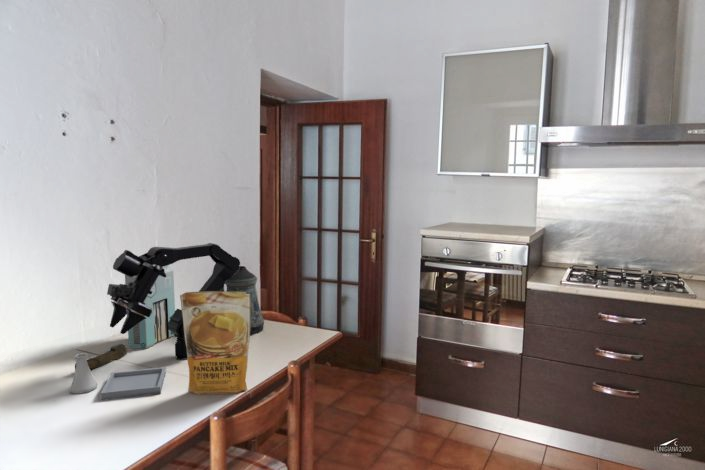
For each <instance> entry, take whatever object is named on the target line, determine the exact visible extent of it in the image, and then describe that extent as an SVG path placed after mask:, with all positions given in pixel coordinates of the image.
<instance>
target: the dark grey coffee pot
mask: <svg viewBox="0 0 705 470" xmlns="http://www.w3.org/2000/svg"><path fill="white" fill-rule="evenodd" d="M240 266H241V267H240V269H239V271H238V272H237V273H235V274H234V275H233V276H232V277H231V278H229V279H227V280H226V281H224V282H223V283H222V285H221V286H220V287H219V289H218V290H217V291H222V292H227V291H246V294H250V295H251V330H250V336H253V335H256V333H257V334H260V333H261V332H263V331H264V324H265V318H264V317H263V315H262V312H261V309H260V304H259V300H258V299H259V298H258V294H257V287H256V284H257V282H258V277H257V276H256V275H255V274H254V273H252V272H250V271H249V270H248V269H247V267H246V266H244V265H240ZM225 286H226V291H225ZM262 330H263V331H262ZM252 334H253V335H252Z"/></svg>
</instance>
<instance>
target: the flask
mask: <svg viewBox="0 0 705 470" xmlns="http://www.w3.org/2000/svg"><path fill="white" fill-rule="evenodd" d="M87 357H88V353H86V352H84V353H77V354H75V355H74V359H75V361H76V362H75V364H76V370H75V369H74V374H73V378H72V381H71V385H70V388H69V391H68V392H69V393H71V394H83V393H89V392H91V391H93V390H95V389H97V387H98V382H97V381H96V379H95V375H93V373H92V370H90V369H89V367H88V363H87V360H88V359H87Z"/></svg>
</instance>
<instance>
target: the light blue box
mask: <svg viewBox="0 0 705 470" xmlns="http://www.w3.org/2000/svg"><path fill="white" fill-rule="evenodd" d="M143 265H145V266H147V267H149V266H151V265H150V264H146V263H144V264H143ZM152 266H154V267H156V268H158V269H160V268H163V269H165V270H164V271H165V274H166V277H162V276H158V278H157V280H156V282H155V283H154V285H153V287H152V289H151V290H150V291H152V294H151V295H150V294H148V296H147V297H146V299H145V301H144V303H145V305H146V306H148V307H150V308H151V309H152V313H151V315H150V317H147V316H144V317H146V319H144V320H142V321H141V322H139V323H138V324H136V325H135V326H134V327H132V328H131V329H130V330H128V331H127V337H128V347H129V348H132V349H133V348H134V349H142V350H147V349H148V348H150V347H153V346H154V345H155V346H156V345H157V344H160V343H161V342H163V341H166V340H168V339H170V338H172V337H175V336H174V334H173V333H172V332H171V331H170V330H169V328H168V322H169V321H170V319H169V318H170V317H171V316H172V315H173V314H174V313H175V311H176V304H175V303H176V302H175V280H174V269H173V268H172V267H173V266H171V264H170V265H167V266H158V265H152ZM135 278H136V276H133V277H129V276H127V275H125V274H124V284H126V285H128V284H129V282H134V280H135ZM126 308H128V307H126ZM128 309H129V308H128ZM130 310H131V309H130Z"/></svg>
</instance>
